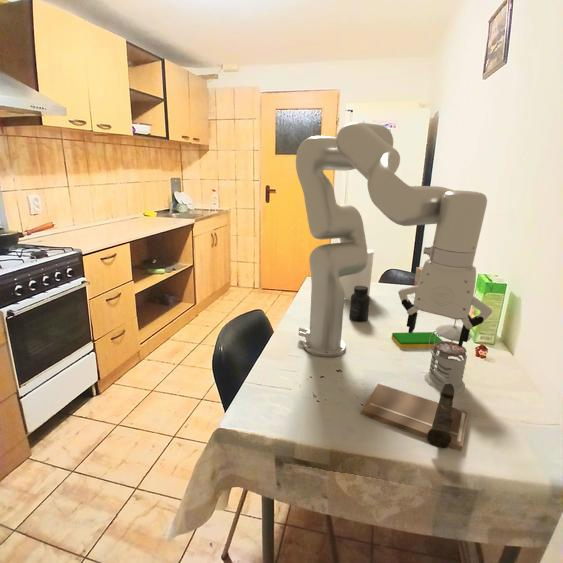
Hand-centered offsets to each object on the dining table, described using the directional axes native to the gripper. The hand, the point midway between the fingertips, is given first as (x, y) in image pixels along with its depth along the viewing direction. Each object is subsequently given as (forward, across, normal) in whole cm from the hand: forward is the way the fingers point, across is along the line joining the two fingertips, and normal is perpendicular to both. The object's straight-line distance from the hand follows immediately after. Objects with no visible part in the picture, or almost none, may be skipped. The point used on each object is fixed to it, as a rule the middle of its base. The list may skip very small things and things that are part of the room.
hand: (435, 336), depth 73 cm
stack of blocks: (+21, -10, +78) cm, 81 cm away
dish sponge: (+20, -8, +34) cm, 41 cm away
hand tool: (+17, +4, -3) cm, 18 cm away
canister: (+21, -41, +66) cm, 81 cm away
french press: (+19, +2, +16) cm, 25 cm away
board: (+18, -1, -3) cm, 19 cm away
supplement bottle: (+21, -30, +42) cm, 56 cm away
